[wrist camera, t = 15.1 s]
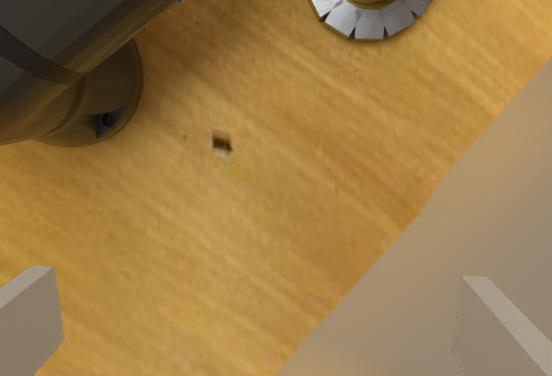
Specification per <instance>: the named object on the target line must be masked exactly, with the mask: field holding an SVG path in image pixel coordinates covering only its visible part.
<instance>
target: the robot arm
mask: <svg viewBox="0 0 552 376" xmlns="http://www.w3.org/2000/svg"><path fill="white" fill-rule="evenodd" d="M177 1H178V2H179V3H182V2H183V1H185V0H0V146H1V145H5V144H10V143H15V142H19V141H24V140H28V139H33V140H37V141H40V142H43V143H46V144H50V145H54V146H61V147H78V146H85V145H89V144H92V143H96V142H99V141H102V140H104V139H107V138H109V137H110V136H112V135H114V134H115V133H117V132H118V131H119V130H120V129H121V128H122V127H124V126H125V124H126V123H127V122H128V121H129V120H130V118H131V117H132V115H133V113H134V112H135V110H136V107H137V105H138V102H139V99H140V96H141V91H142V82H143V74H142V65H141V59H140V55H139V52H138V49H137V47H136V44H135V42H134V40H133V37H134V36H135V35H136V34H138V33H139V32H140V31H141V30H143V29H144V28H145V27H146V26H147V25H149V24H150V23H151V22H152V21H154V20H155V19H156V18H157V17H159V16H160V15H161V14H162V13H164V12H165V11H166V10H167V9H168V8H170V7H171V6H172V5H173V4H175V3H176V2H177ZM63 341H64V333H63V326H62V318H61V311H60V304H59V297H58V290H57V283H56V275H55V268H54V266H30V267H29V268H28V269H26V270H25V271H23V272H22V273H21V274H19V275H18V276H16V277H15V278H14V279H12V280H11V281H9V282H8V283H7V284H5V285H4V286H2V287H1V288H0V376H33V375H34V374H35V373H36V372H37V371H38V370H39V369H40V368H41V366H42V365H43V364H44V363H45V362H46V361H47V360H48V358H49V357H50V356H51V355H52V354H53V353H54V352H55V350H56V349H57V348H58V347H59V346H60V345H61V344H62V342H63ZM452 353H453V355H454V356H455V358H456V360H457V361H458V363H459V365H460V367H461V368H462V370H463V372H464V373H465V375H466V376H552V343H551V342H550V341H549V340H548V339H547V338H546V337H545V336H544V335H543V334H542V333H541V332H540V331H539V330H538V329H537V328H536V326H535V325H534V324H533V323H532V322H530V320H529V319H528V318H527V317H526V316H525V315H524V314H523V313H522V312H521V311H520V310H519V309H518V308H517V307H516V306H515V305H514V304H513V303H512V302H511V301H510V300H509V299H508V298H507V297H506V296H505V295H504V294H503V293H502V292H501V291H500V290H499V289H498V288H497V287H496V286H495V285H494V284H493V283H492V282H491V281H490V280H489V279H488V278H487V277H485V276H484V277H483V276H462V278H461V286H460V294H459V302H458V309H457V316H456V325H455V332H454V340H453V347H452Z"/></svg>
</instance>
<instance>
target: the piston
mask: <svg viewBox="0 0 552 376" xmlns="http://www.w3.org/2000/svg"><path fill="white" fill-rule="evenodd" d="M353 1H355V2H358V3H361V4H371V3H374V2H377V1H379V0H353Z"/></svg>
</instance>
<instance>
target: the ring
mask: <svg viewBox="0 0 552 376" xmlns="http://www.w3.org/2000/svg"><path fill="white" fill-rule="evenodd" d="M308 1H309V3H310V5H311V7H312V9H313V10H314V12H315V14H316V16H317V18H318V20H319V21H320V20H321V19H323V18H325V17H326V16H328V17H327V19H326V21H325V23H324V25H323V26H325V27H326V28H328V29H329V30H331V31H333V32H334V33H336V34H337V35H339V36H341V37H342V38H344V39H347V38H348V37H349V35H350V34H351V32H352V39H351V41H379V40H381V39H383V38H384V39H386V38H388V37H390V36H392V35H393V34H395V33H397V32H399V31H400V30H402V29H404V28H405V27H407V26H409V25H411V24H412V23H414V22H415V19H417V18H419V17H421V15H422V14H423V12H424V10H425V9H426V7H427V6H428V4H429V3H430V1H431V0H395V1H394V2H393V3H391V4H389V5H388V6H386V7H384V8H383V9H373V10H360V9H359V8H357V7H355V6H354V5H352V4H351V3H349V2H347V1H346V0H308Z"/></svg>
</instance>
